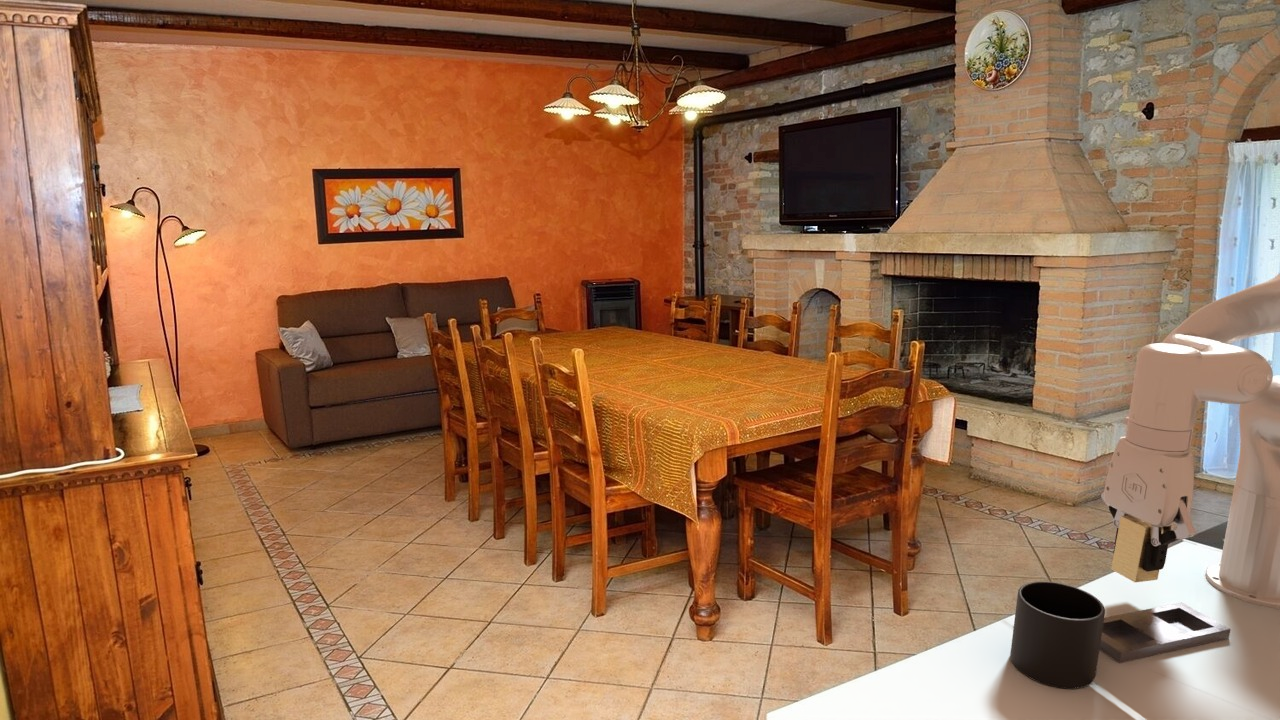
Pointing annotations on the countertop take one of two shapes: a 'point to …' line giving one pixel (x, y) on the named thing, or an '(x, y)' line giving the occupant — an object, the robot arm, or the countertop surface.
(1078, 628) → the mug
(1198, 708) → the countertop surface
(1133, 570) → the wooden block
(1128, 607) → the countertop surface
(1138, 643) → the grey slotted board
